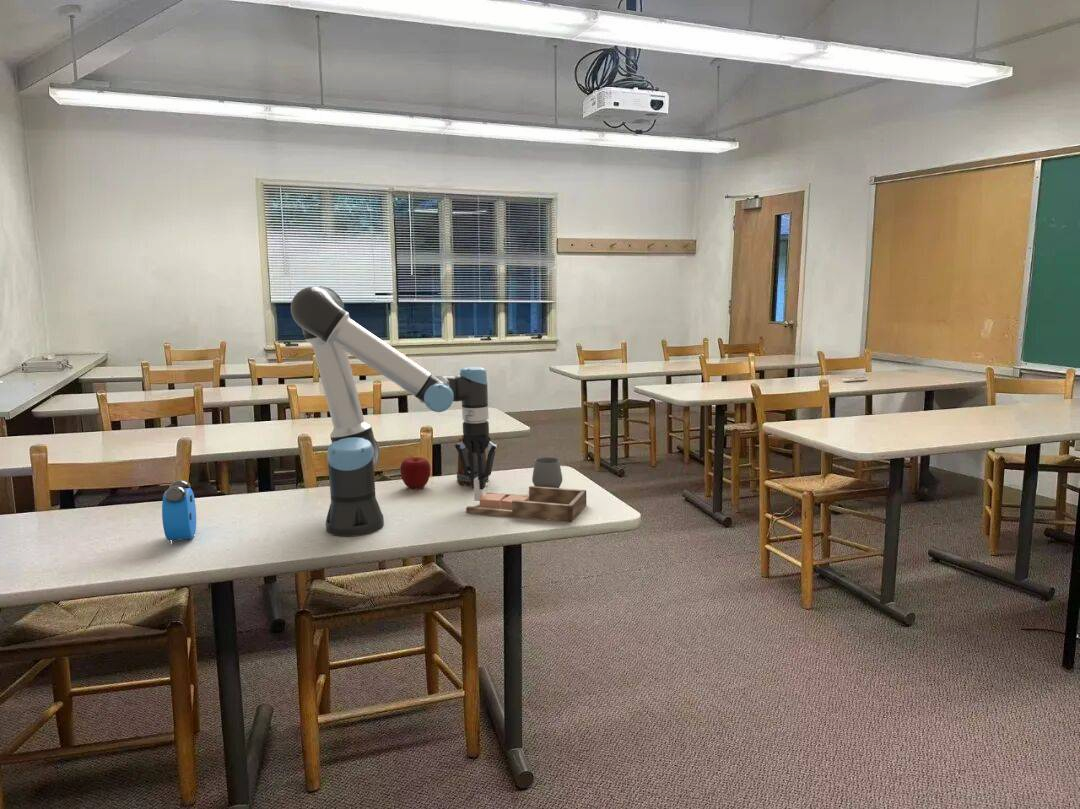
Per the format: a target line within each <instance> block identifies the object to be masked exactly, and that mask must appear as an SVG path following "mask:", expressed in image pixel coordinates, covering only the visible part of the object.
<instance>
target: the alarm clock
mask: <svg viewBox="0 0 1080 809" xmlns="http://www.w3.org/2000/svg"><path fill="white" fill-rule="evenodd" d="M161 504H162V506H161V516H162V518H161V519H162V520H161V521H162V527H163V532H164V536H165V538H166V540H167V541H168V540H169V541H168V542H171V541H170V540H176V541H181V540H180V539H184V540H190V539H189V538H192V539H194V538H195V536H194V534H195V535H196V533H195V532H197V507H196V499H195V495H194V492H193V490H192V488H191V484H190V482H188V481H186V480H184V479H178V480H175V481H173V482H172V483H171V484H170V485H169V488H168V489H167V490H165V492H164V493H163V497H162V503H161ZM193 537H194V538H193Z"/></svg>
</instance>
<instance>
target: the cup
mask: <svg viewBox="0 0 1080 809" xmlns="http://www.w3.org/2000/svg"><path fill="white" fill-rule="evenodd" d="M560 462H561V461H560V459H559V458H556V457H552V456H551V457H550V456H548V457H538V458H536V459H534V464H533V471H532V479H531V480H532V484H533V485H534V486H538V487H551V488H561V485H562V483H563V473H562V469H561V463H560Z"/></svg>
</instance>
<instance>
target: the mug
mask: <svg viewBox="0 0 1080 809" xmlns="http://www.w3.org/2000/svg"><path fill="white" fill-rule="evenodd" d="M462 438H463V434H462V435H459V436H458V443H460V442H461V441H462ZM465 450H466V453H467V457H468V461H469V465H470V460H469V453H468V449H467V448H466V446H465ZM486 450H487V449H486ZM486 450H485V467H486V462H487V452H486ZM476 456H477V454H476ZM477 474H478V457H477ZM477 477H478V476H477ZM489 477H490V476H488V477H486V478H485V483H487V482H488V481H489ZM456 480H457V482H458V483H459V484H461V485H464V484H465V486H466V485H467V486H471V478H470V477H469V476H465V475H464V471H463V467H462V463H461V460H460V456H459V452H458V451H457V472H456Z"/></svg>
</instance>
